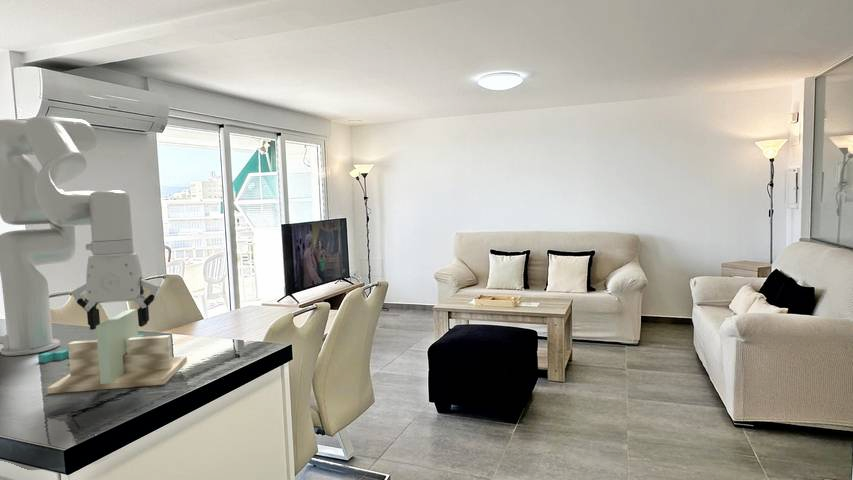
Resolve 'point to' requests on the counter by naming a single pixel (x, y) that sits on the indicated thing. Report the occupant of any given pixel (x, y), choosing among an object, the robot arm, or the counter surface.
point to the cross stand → (140, 364)
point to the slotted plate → (115, 343)
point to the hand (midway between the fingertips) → (119, 326)
